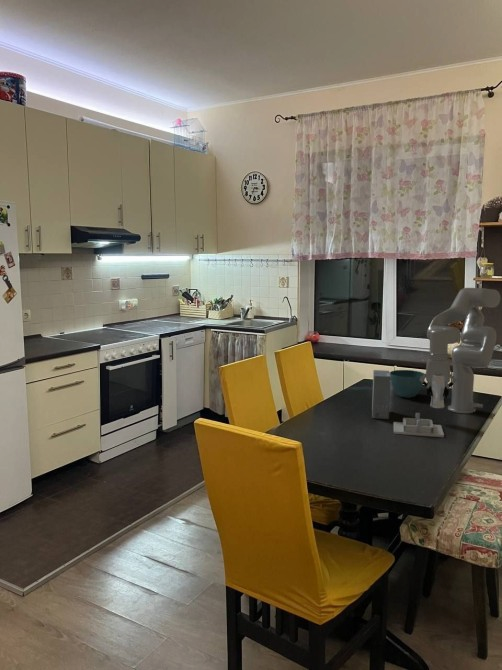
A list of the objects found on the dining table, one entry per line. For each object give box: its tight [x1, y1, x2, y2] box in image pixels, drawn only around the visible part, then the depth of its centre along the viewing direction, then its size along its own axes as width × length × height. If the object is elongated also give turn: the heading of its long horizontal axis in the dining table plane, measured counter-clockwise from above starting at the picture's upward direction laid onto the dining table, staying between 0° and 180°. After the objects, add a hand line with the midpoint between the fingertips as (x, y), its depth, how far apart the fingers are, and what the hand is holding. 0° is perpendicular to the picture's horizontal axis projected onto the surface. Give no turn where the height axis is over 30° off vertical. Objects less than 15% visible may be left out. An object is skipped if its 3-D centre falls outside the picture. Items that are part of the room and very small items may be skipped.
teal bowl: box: [389, 369, 426, 399], centre depth 296 cm, size 18×18×12 cm
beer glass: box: [429, 375, 446, 409], centre depth 247 cm, size 7×7×15 cm
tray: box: [393, 412, 445, 438], centre depth 237 cm, size 20×14×6 cm
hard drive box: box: [371, 369, 391, 420], centre depth 260 cm, size 16×8×20 cm, turn 168°
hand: (437, 396), depth 247 cm, fingers closed on beer glass, 6 cm apart
